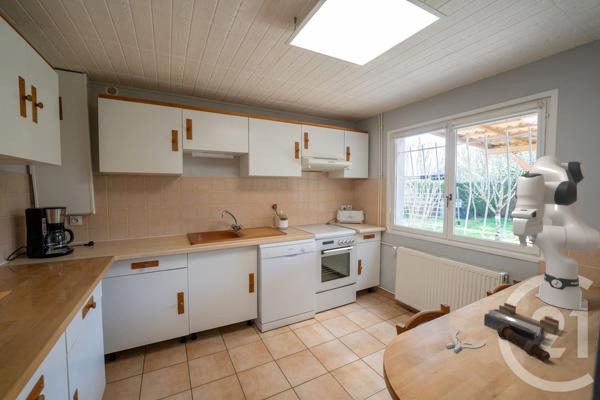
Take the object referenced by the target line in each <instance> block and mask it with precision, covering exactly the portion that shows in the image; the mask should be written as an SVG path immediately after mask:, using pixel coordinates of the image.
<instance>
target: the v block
mask: <svg viewBox="0 0 600 400" xmlns="http://www.w3.org/2000/svg"><path fill="white" fill-rule="evenodd" d="M493 310H494V311H496V312H499V313H502V314H505V315H507V316H510V317H513V318H516V319H518V320H521V321H524V322H526V323H529V324H532V325H535V326H537V327H540V328H541V335H540V337H537V336H536V335H537V333H536V332H534V331H531V330H528V329H526V328H523V327H521V326H518V325H515V324H513V323H510V322H508V321H505V320H502V319H500V318H497V317H495V316H492V315H489V314H488V313H485V314H483V315H484V321H483V322H484V323H483V325H484V326H485V327H488V328H491V329H492V330H495V331H497V330H498V327H499V326H500V325H501V324H508V325H509V326H510V327H511V329H512V331H513V332H515V333H516V334H518V335H520V336H521V337H523V338H525V339H527V340H528V341H535V342H537V343H538V344H539V343H540V342H541V341H542V340H543V339H545V331H544V330H545V327H544V326H542V325H539V324H536V323H533V322H531V321H528V320H525V319H522V318H519V317H517V316H514V315H511V314H508V313H506V312H503V311H500V310H499V309H497V308H494V309H493Z"/></svg>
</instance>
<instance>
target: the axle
mask: <svg viewBox="0 0 600 400" xmlns="http://www.w3.org/2000/svg"><path fill="white" fill-rule="evenodd" d="M494 310H495V309H489V310H488V313H487V314H489V315H492V316H495V317H497V318H500V319H502V320H505V321H508V322H510V323H513V324H515V325H518V326H521V327H523V328H526V329H528V330H531V331H534V332H536V333H537V335H536V336H537V337H540V335H541V328H540V327H537V326H535V325H532V324H529V323H526V322H524V321H521V320H518V319H516V318H513V317H510V316H507V315H505V314H502V313H499V312H496V311H494Z"/></svg>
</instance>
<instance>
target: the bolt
mask: <svg viewBox="0 0 600 400" xmlns="http://www.w3.org/2000/svg"><path fill="white" fill-rule="evenodd" d="M496 332H497V335H498V336H499V337H500V338H501V339H508V340H510V341H511V342H513V343H515V344H517V345H518V346H519V347H520V348H523V349H524V350H525V351H524V352H525V353H526V354H527V355H530V356H536V357H537V358H539V359H541V360H542V361H548V360H549V359H550V358H551V355H550V352H549V351H547V350H545V349H543V348H542V347H541V346H540V345H539V342H538V343H537V342H535V341H528V340H527V339H525V338H523V337H521V336H520V335H518V334H516V333H515V332H513V331H512V329H511V327H510V326H509V325H508V324H501V325H500V326H499V327H498V330H496Z"/></svg>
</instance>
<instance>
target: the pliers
mask: <svg viewBox="0 0 600 400" xmlns="http://www.w3.org/2000/svg"><path fill="white" fill-rule="evenodd" d="M459 333H460V330H456V331H453V332H452V334H451V340H452V342H448V343H447V344H445V349H452V348H453V353H455V354H457V353H458V352H460V350H461V349H469V350H470V349H473V350H474V349H475V350H476V349H479V348H483V347H484V346H485V344H486V342H481V343H478V344H473V343H470V342H463V344H461V339H460V337H459V336H458V334H459ZM458 340H459V341H458Z"/></svg>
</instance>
